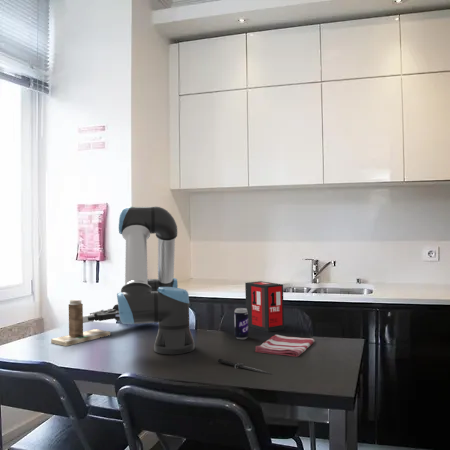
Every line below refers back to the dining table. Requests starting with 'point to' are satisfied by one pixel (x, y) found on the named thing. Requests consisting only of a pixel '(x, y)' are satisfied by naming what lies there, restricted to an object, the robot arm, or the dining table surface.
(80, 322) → the brown cylinder
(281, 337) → the dish towel
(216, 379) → the dining table surface
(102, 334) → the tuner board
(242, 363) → the knife
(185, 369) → the dining table surface
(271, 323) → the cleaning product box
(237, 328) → the beverage can
